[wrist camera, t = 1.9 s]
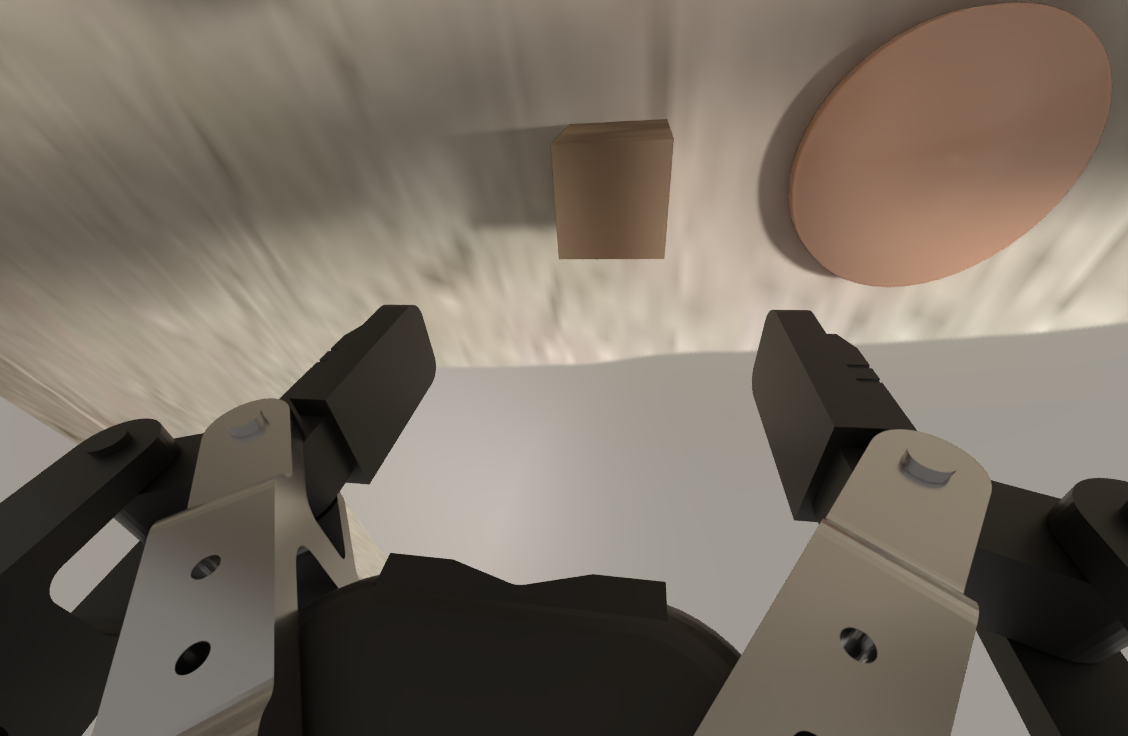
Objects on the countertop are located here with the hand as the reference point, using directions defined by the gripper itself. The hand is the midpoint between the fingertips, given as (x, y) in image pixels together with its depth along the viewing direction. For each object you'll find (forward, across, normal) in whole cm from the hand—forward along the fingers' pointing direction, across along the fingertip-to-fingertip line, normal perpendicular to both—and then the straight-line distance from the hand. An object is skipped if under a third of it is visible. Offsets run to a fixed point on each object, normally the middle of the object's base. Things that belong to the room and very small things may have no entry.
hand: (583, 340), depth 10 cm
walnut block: (+17, 0, 0) cm, 17 cm away
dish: (+17, -15, 0) cm, 23 cm away
